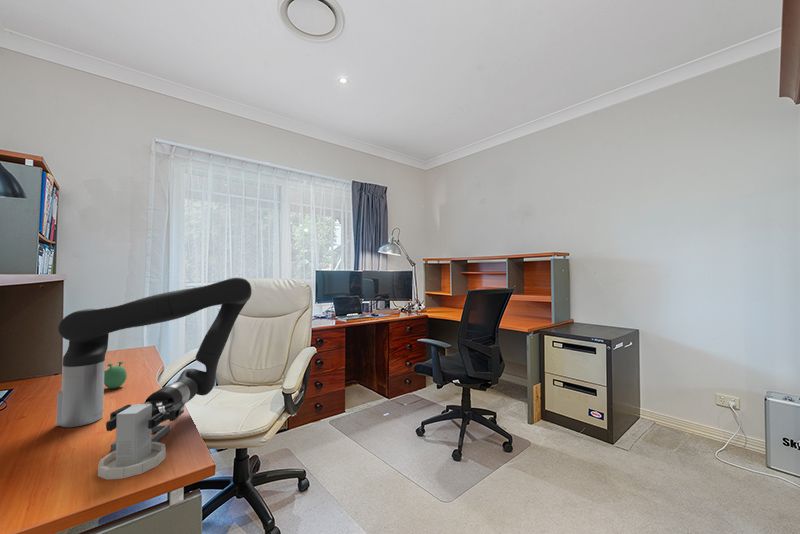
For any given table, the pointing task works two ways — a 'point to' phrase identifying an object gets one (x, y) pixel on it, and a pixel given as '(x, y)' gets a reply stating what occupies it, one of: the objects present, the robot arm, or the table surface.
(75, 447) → the table surface
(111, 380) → the alien toy
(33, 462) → the table surface
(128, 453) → the skincare box
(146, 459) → the bowl
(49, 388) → the table surface
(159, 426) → the tray
